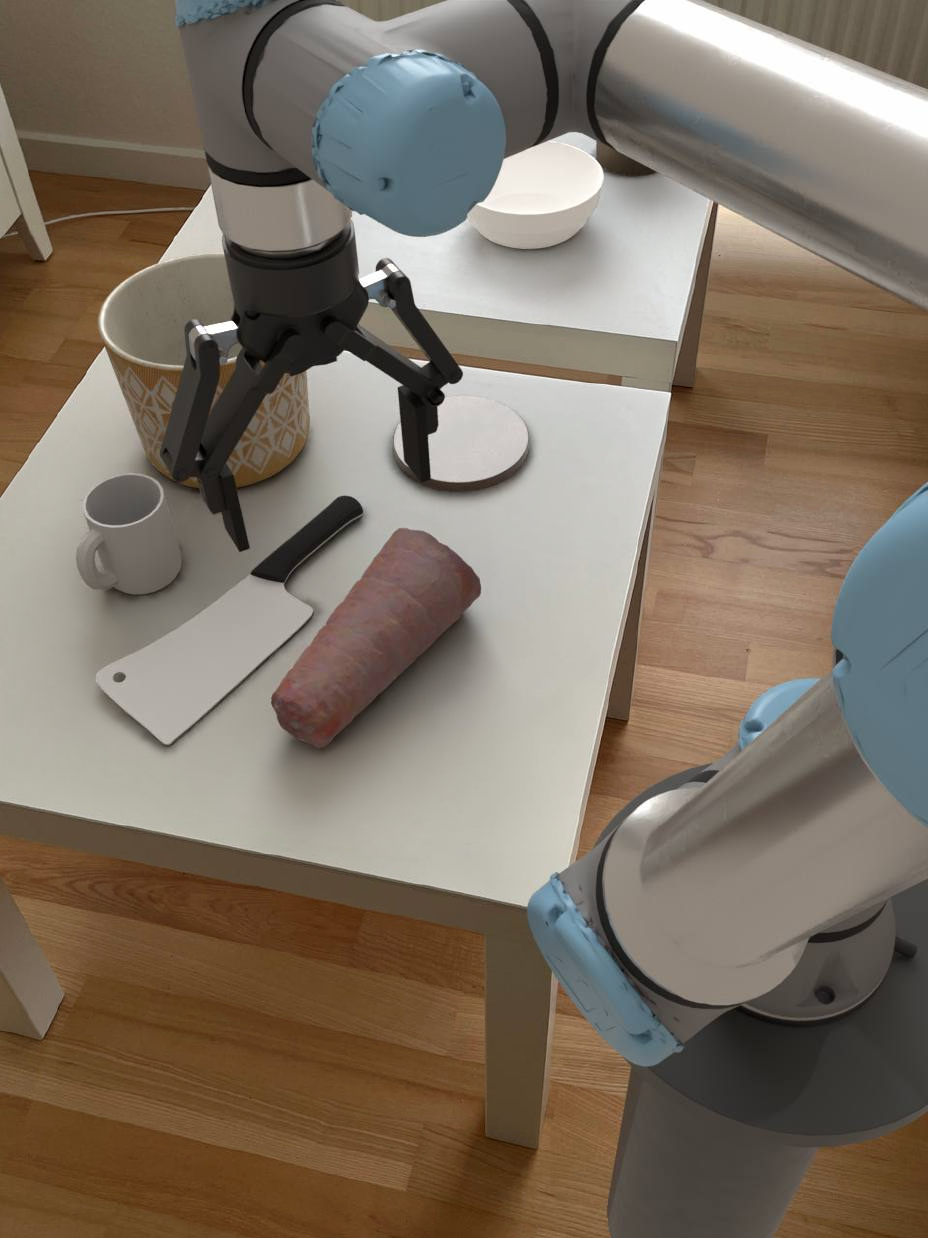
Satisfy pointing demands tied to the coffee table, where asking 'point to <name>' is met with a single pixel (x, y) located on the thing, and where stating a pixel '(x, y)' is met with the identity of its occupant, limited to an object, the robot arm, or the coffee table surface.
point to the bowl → (540, 197)
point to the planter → (156, 352)
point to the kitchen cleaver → (221, 638)
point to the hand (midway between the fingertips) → (329, 504)
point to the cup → (128, 536)
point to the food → (375, 634)
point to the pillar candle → (619, 162)
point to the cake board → (471, 444)
